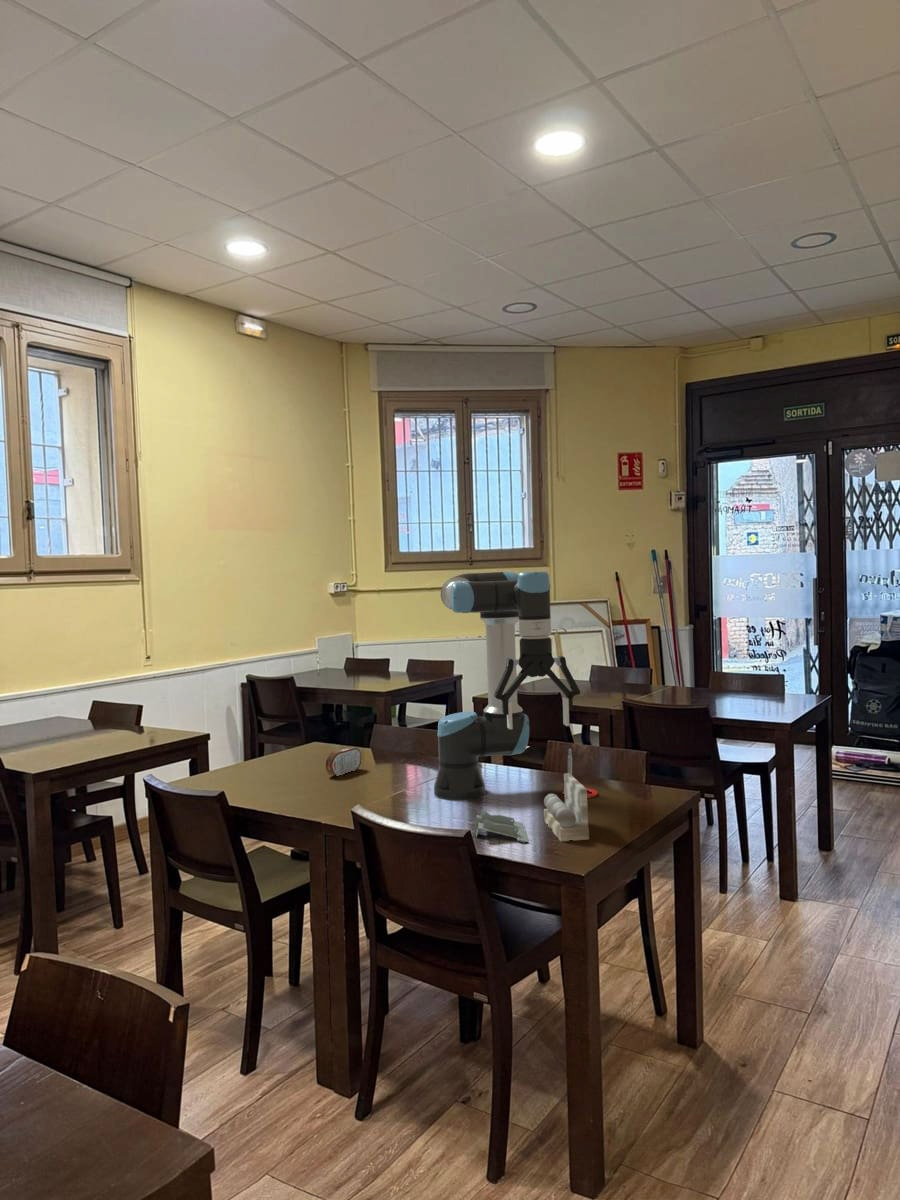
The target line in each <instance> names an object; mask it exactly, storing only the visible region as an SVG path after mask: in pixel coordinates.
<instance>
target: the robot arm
mask: <svg viewBox="0 0 900 1200" xmlns="http://www.w3.org/2000/svg"><path fill="white" fill-rule="evenodd" d="M550 582H551V581H550V574H549V573H548V572H547V571H523V572H522V571H521V572H519V573H517V572H513V571H497V572H496V571H495V572H475V573H474V572H469V573H467V572H466V573H462V574H459V575H456V576H452V577H451V578H449V579H448V580H446V581H445V582H444V583H443V585H442V586H441V590H440V599H441V601H442V603H443V605H444V606H445V607H446V608H448V609H449V610H451V611H453V612H454V613H456V614H457V613H458V614H460V613H461V614H471V613H474V614H475V613H479V615H480V616H479V617H480V620H481V621H482V622H483V623H484V625H485V637H486V638H485V639H486V641H485V642H486V644H485V645H486V667H487V669H486V670H487V671H486V672H487V673H486V675H487V696H488V697H487V699H488V701H487V702H488V704H487V705H486V707H485V708H483V716H478V714H477V713H476V712H475V711H462V712H461V711H460V712H455V713H451V714H448V715H445V716H443V717H441V718H440V719H439V720H438V724H437V732H436V733H437V737H438V738H437V739H438V741H437V742H438V771H437V774H436V779H435V782H434V785H433V793H434V796H435V797H438V798H440V799H446V800H454V801H455V800H468V799H475V798H479V797H481V796H483V795H485V793H486V784H485V781H484V779H483V778H484V777H483V774H482V772H481V770H480V766H479V765H480V764H479V757H492V756H493V757H494V756H495V757H497V756H508V757H509V756H512V755H520V754H523V753H524V752H525V751H526V750H527V747H528V744H529V738H530V719H529V715H527V714H525V713H524V712H523V708H522V707H521V706H520V705H519V704H518V688H519V687H520V686H521V684H522V683H523V682H524V680H526V679H527V677H529V678H535V677H539V678H541V677H545V676H547V677H549V679H550V680H551V681H552V682H553V683H554V684H555V686H556V687H558V688H559V690H561V692H562V693H563V694H564V695H565V696H562V718H563V719H562V724H563V725H564V726H566V727H570V712H573V710H574V706H573V705H574V702H573V699H574V697H575V696H578V695H580V694H581V690H580V688H579V685H578V684H577V683H576V681H575V679H574V678H573V675H572V674H571V672H570V670H569V667H568V666H567V659H566V657H565V656H562V655H558V657H553V650H552V649H553V647H552V645H553V644H552V638H551V637H550V636H552V621H551V620H552V619H551V618H552V617H551V583H550ZM517 621H518V631H519V632H518V633H519V634H518V635H519V636H520V639H519V659H517V657H516V654H517V651H516V649H517V648H516V626H515V625H516V622H517ZM554 664H556V665H557V667H558V666H559V668H560V671H561V672H562V675H563V676H564V679H566V683H568V685H569V687H570V689H569V688H568V687H567V686H566V685H565V684H564V683H563V682H562V681H561V679H560V678H559V677H558V676H557V675H556V674H555V672H554V671H553V670H552V667H553V665H554ZM517 665H519V667H520V671H519V672H518V673H517Z"/></svg>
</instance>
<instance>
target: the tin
mask: <svg viewBox="0 0 900 1200" xmlns="http://www.w3.org/2000/svg"><path fill="white" fill-rule="evenodd" d="M361 764H362V752H361V750H360V749H359V748H357V747H355V746H346V747H342V748H340V749H335V750H332V751H331V752H330V753H329V754H328V755H327V758H326V762H325V769H326V771H325V772H326V773H327V774H328V776H331V775H334V776H333V777H336V776H335V775H339V774H343V773H346V772H349V771H353V770H356V771H358V769H359V768H360V766H361Z"/></svg>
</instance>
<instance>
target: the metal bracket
mask: <svg viewBox="0 0 900 1200" xmlns="http://www.w3.org/2000/svg"><path fill="white" fill-rule="evenodd" d="M474 822H475V823H474V830H471V834H473V835H475V834H476V836H475V839H477V838H478V835H479V830H482V831H487V832H491V833H494V834H499V835H503V836H506V837H510V838H515V839H516V840H517V842H521V843H525V842H529V840H530V839H529V840H528V838H529V837H528V835H527V836H526V834H527V832H526V830H525V831H524V829H525V828H524V827H525V826H524V827H523V825H524V824H523V823H522V822H520V821H516V820H515V818H514V817H510V816H507V815H501V814H490V813H489V812H487V811H485V810H483V811H482V812H481V814H480V815H478V814H477V815H476V816H475V821H474ZM525 832H526V833H525ZM527 837H528V838H527Z"/></svg>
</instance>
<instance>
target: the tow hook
mask: <svg viewBox="0 0 900 1200" xmlns="http://www.w3.org/2000/svg"><path fill="white" fill-rule="evenodd" d="M567 773H570V774H571V775H572V776H573V755H572V749H571V748H569V749H568V756H567ZM573 777H574V776H573ZM585 788H586V789H587V791H589V792H592V794H591V793H589V792H588V793H589V794H588V793H587V797H593V796H595V795H597V796H598V791H597V790H596V789H593V788H588V787H585ZM563 794H564V789H563V790H562V791H561V795H563Z"/></svg>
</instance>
